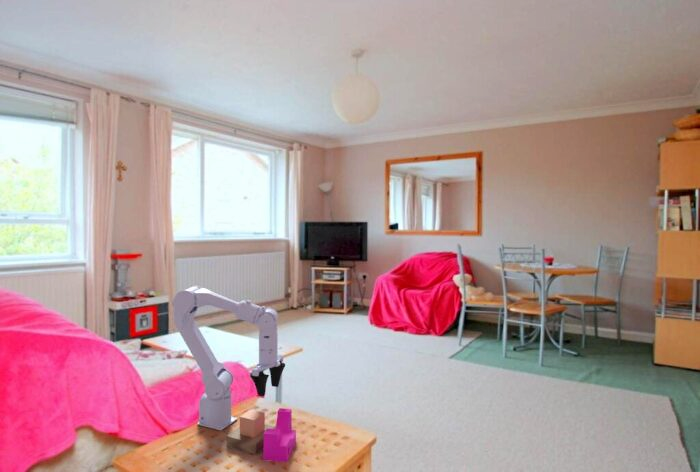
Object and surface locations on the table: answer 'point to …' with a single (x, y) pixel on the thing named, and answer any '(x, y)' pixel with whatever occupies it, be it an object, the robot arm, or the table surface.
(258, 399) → the table surface
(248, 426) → the terracotta cube
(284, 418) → the toy block
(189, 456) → the table surface
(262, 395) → the robot arm
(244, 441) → the taupe block
